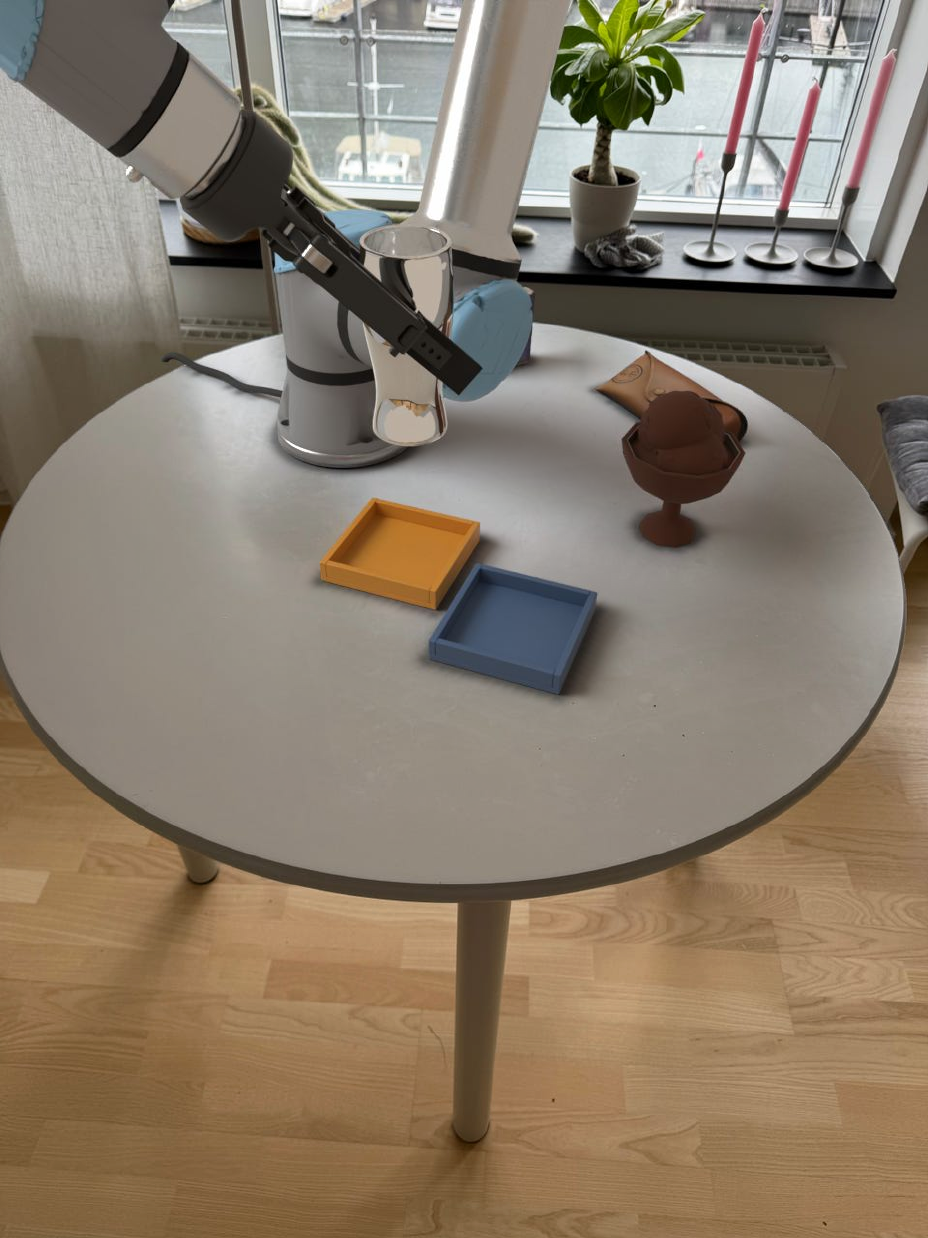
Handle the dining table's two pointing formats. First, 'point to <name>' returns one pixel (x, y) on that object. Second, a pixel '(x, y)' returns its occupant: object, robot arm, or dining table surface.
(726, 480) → the ice cream bowl
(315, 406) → the robot arm
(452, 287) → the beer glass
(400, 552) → the amber tray
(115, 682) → the dining table surface
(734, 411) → the sunglasses case
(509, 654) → the blue tray
